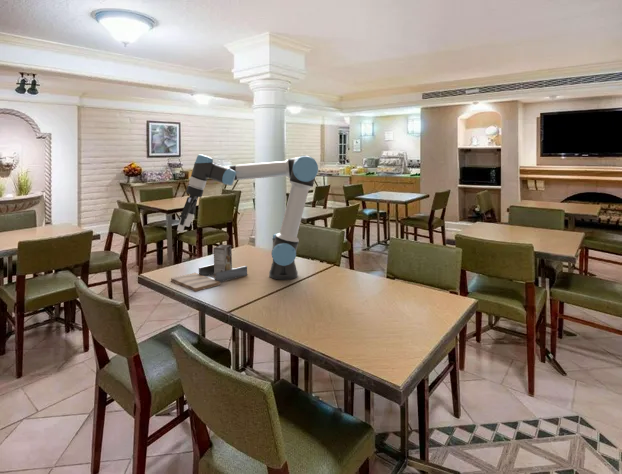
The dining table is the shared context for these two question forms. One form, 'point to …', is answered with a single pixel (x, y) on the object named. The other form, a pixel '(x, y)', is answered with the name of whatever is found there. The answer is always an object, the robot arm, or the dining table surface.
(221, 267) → the coffee box
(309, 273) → the dining table surface
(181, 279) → the serving board
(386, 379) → the dining table surface
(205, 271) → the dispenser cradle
